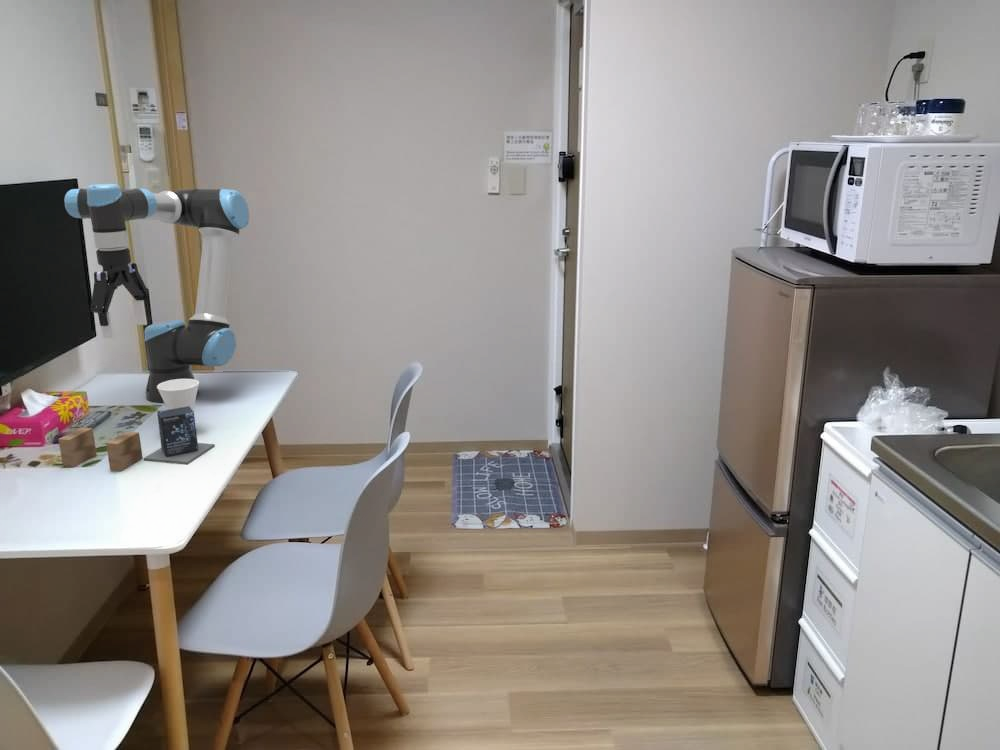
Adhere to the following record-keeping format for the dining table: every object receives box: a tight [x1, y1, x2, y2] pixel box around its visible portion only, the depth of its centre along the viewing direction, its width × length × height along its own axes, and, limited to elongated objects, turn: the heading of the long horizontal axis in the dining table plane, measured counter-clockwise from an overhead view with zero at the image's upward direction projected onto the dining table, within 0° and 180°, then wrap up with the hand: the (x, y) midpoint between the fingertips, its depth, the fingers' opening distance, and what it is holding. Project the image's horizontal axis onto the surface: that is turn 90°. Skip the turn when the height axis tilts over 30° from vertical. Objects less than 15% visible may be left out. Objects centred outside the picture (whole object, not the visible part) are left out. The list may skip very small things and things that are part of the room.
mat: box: [142, 442, 215, 465], centre depth 193 cm, size 12×12×1 cm
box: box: [156, 406, 199, 457], centre depth 192 cm, size 8×6×11 cm
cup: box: [157, 378, 200, 431], centre depth 206 cm, size 10×10×14 cm
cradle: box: [57, 427, 144, 472], centre depth 187 cm, size 8×16×7 cm, turn 79°
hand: (125, 331), depth 197 cm, fingers open, 13 cm apart
